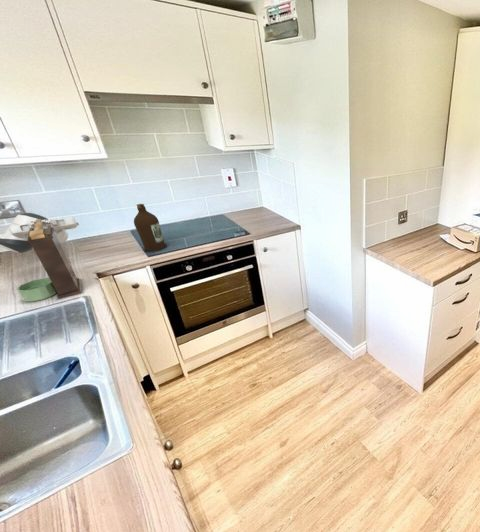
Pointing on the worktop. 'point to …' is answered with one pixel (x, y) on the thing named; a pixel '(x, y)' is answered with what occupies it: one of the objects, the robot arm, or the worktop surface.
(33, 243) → the dark wood pillar
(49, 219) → the robot arm
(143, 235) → the olive oil
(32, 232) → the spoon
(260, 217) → the worktop surface
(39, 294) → the bowl
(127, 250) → the worktop surface
